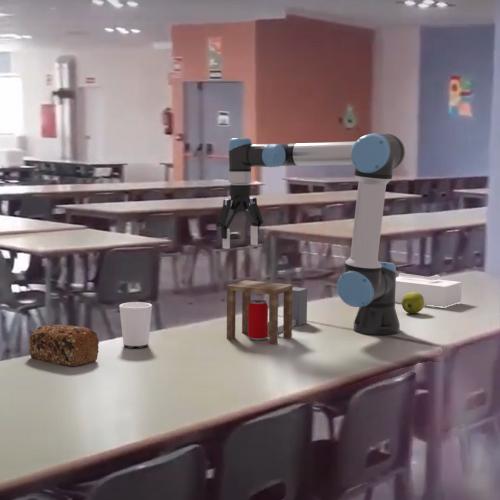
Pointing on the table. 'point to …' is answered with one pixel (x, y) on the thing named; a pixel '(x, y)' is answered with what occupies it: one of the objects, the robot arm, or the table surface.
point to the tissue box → (428, 289)
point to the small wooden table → (273, 292)
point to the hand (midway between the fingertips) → (240, 246)
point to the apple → (413, 302)
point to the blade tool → (296, 308)
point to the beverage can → (258, 320)
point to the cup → (135, 323)
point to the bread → (64, 345)
